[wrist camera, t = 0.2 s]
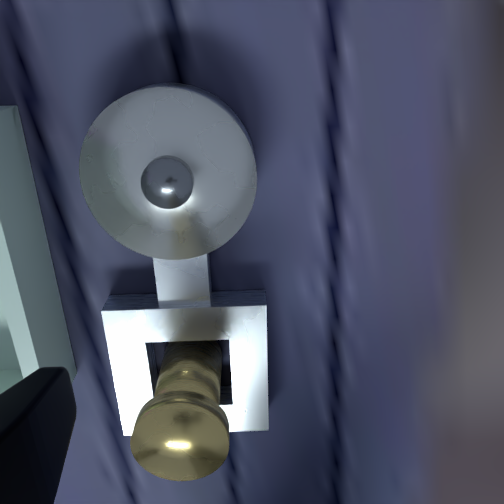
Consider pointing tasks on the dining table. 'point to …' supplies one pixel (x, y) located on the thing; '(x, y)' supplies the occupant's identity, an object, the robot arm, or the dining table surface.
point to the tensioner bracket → (177, 238)
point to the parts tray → (26, 269)
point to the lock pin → (184, 415)
